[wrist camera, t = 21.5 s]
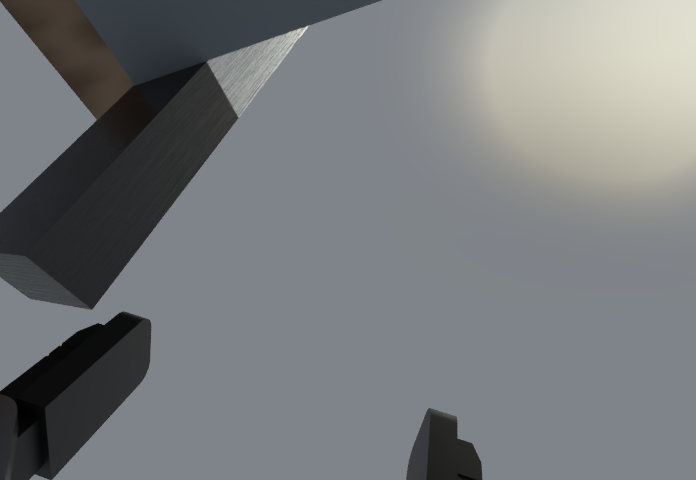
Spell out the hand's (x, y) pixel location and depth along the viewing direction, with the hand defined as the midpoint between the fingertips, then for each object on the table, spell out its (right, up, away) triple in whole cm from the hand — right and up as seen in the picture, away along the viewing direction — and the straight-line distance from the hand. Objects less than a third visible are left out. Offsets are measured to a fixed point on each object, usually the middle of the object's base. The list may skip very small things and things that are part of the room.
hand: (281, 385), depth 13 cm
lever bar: (-4, +13, +6) cm, 15 cm away
